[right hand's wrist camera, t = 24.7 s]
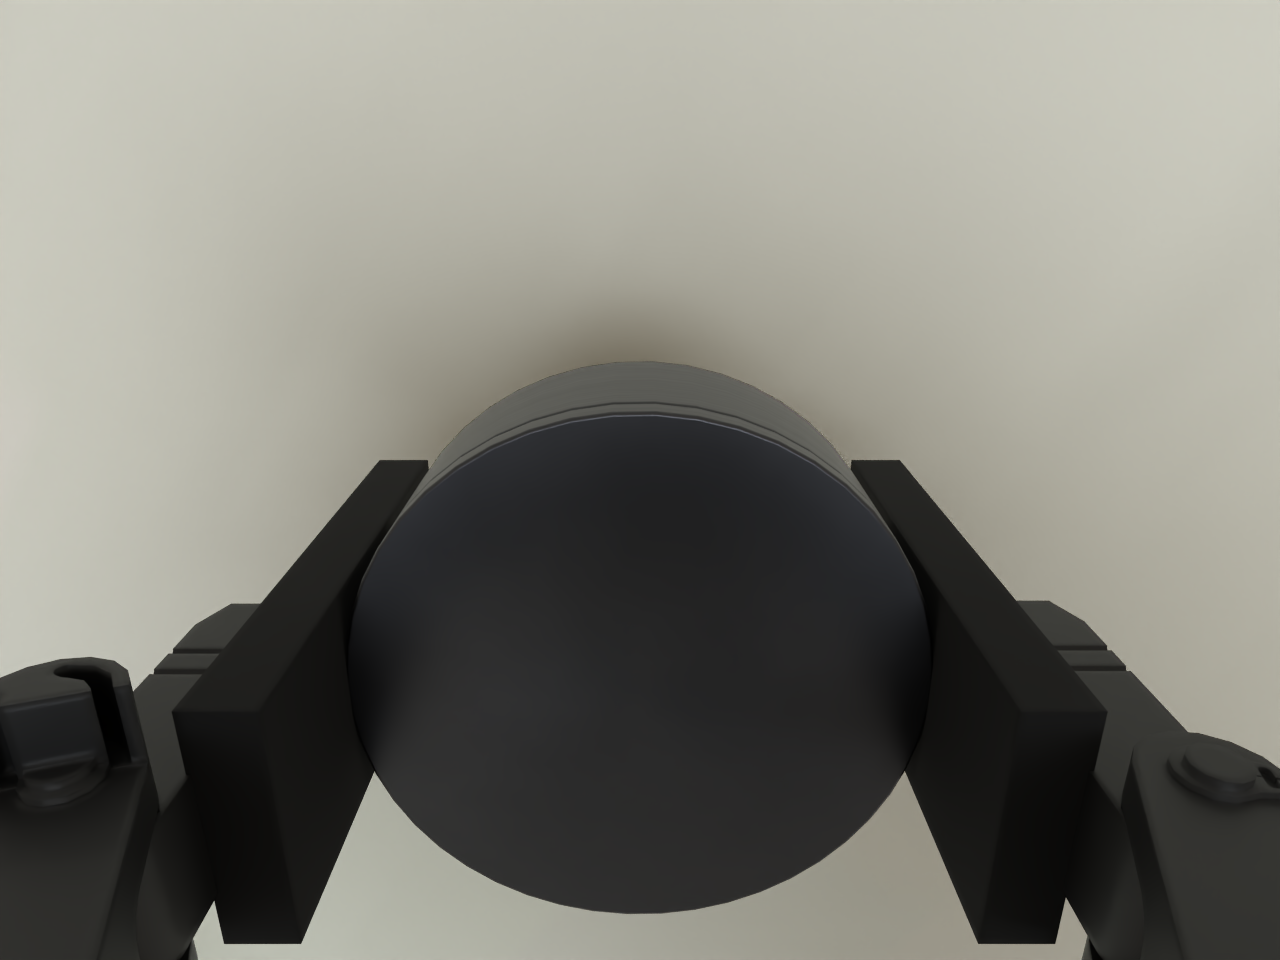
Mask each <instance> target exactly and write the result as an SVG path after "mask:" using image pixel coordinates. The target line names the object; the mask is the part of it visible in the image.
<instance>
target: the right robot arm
mask: <svg viewBox="0 0 1280 960" xmlns="http://www.w3.org/2000/svg"><path fill="white" fill-rule="evenodd" d="M428 471H429V468H428V460H380V461H379V462H378V463H377V464H376V465H375V467H374V468H373V469H372V470H371V471H370V473H369V474H368V475H367V476H366V477H365V479H364V480H363V481H362V482H361V483H360V485H359V486H358V487H357V488H356V490H355V491H354V492H353V493H352V494H351V496H350V497H349V498H348V499H347V500H346V502H345V503H344V504H343V505H342V506H341V508H340V509H339V510H338V511H337V512H336V514H335V515H334V516H333V517H332V518H331V520H330V521H329V522H328V523H327V524H326V526H325V527H324V528H323V529H322V531H321V532H320V533H319V534H318V535H317V537H316V538H315V539H314V540H313V541H312V543H311V544H310V545H309V546H308V547H307V549H306V550H305V551H304V552H303V553H302V555H301V556H300V557H299V558H298V559H297V561H296V562H295V563H294V564H293V566H292V567H291V568H290V569H289V570H288V572H287V573H286V574H285V575H284V576H283V578H282V579H281V580H280V581H279V582H278V584H277V585H276V586H275V587H274V588H273V590H272V591H271V592H270V593H269V594H268V596H267V597H266V598H265V599H264V600H263V602H262V603H261V604H230V605H228V606H227V607H225V608H223V609H221V610H220V611H218V612H216V613H215V614H213V615H211V616H209V617H208V618H206V619H204V620H203V621H201V622H199V623H197V624H196V625H195V626H194V627H193V628H192V629H191V630H190V631H189V632H188V633H187V634H186V635H185V637H184V638H183V639H182V640H181V641H180V642H179V643H178V644H177V645H176V646H175V647H174V648H173V654H168V655H167V656H166V657H165V658H164V659H163V660H162V661H161V662H160V663H159V665H158V666H157V667H156V668H155V669H154V674H149V675H148V676H147V677H146V679H145V680H144V681H143V682H142V683H141V684H140V685H139V686H138V687H137V688H136V689H135V690H134V691H133V690H132V686H131V682H130V677H129V673H128V670H127V669H125V668H124V667H122V666H121V665H120V664H118V663H117V662H115V661H112V660H106V659H100V658H94V657H84V658H71V659H60V660H55V661H51V662H47V663H43V664H39V665H34V666H30V667H26V668H24V669H21V670H19V671H16V672H14V673H11V674H9V675H6V676H4V677H1V678H0V960H198V957H197V953H196V949H195V944H194V940H193V937H194V935H195V934H196V932H197V930H198V928H199V926H200V925H201V923H202V921H203V919H204V918H205V916H206V914H207V912H208V911H209V909H210V907H211V905H212V903H213V902H214V901H215V905H216V910H217V914H218V919H219V923H220V927H221V932H222V936H223V941H224V944H301V943H302V940H303V938H304V936H305V933H306V931H307V929H308V926H309V924H310V922H311V919H312V917H313V915H314V912H315V910H316V908H317V905H318V903H319V900H320V898H321V896H322V893H323V891H324V889H325V886H326V884H327V882H328V879H329V877H330V875H331V872H332V870H333V867H334V865H335V863H336V860H337V858H338V856H339V853H340V851H341V849H342V846H343V844H344V842H345V839H346V837H347V834H348V832H349V830H350V827H351V825H352V823H353V820H354V818H355V816H356V813H357V811H358V809H359V806H360V804H361V802H362V799H363V797H364V794H365V792H366V790H367V787H368V785H369V783H370V780H371V778H372V776H373V773H374V769H373V767H372V765H371V762H370V760H369V758H368V756H367V754H366V752H365V750H364V748H363V746H362V744H361V740H360V737H359V734H358V731H357V728H356V725H355V722H354V717H353V711H352V704H351V697H350V690H349V683H348V675H347V663H346V645H347V638H348V632H349V625H350V618H351V612H352V609H353V606H354V603H355V600H356V597H357V593H358V590H359V587H360V584H361V581H362V578H363V576H364V574H365V572H366V570H367V568H368V566H369V564H370V562H371V560H372V558H373V556H374V554H375V552H376V550H377V548H378V547H379V545H380V544H381V542H382V540H383V539H384V537H385V536H386V534H387V533H388V531H389V530H390V528H391V527H392V525H393V524H394V522H395V521H396V519H397V518H398V516H399V515H400V513H401V511H402V510H403V508H404V507H405V505H406V504H407V502H408V501H409V499H410V498H411V496H412V495H413V493H414V492H415V490H416V489H417V487H418V485H419V484H420V482H421V481H422V479H423V478H424V476H425V475H426V473H427V472H428ZM851 471H852V472H853V474H854V475H855V477H856V478H857V480H858V482H859V483H860V485H861V486H862V488H863V489H864V491H865V492H866V494H867V495H868V497H869V498H870V500H871V501H872V503H873V504H874V506H875V507H876V509H877V511H878V512H879V514H880V515H881V517H882V518H883V520H884V521H885V523H886V524H887V526H888V528H889V529H890V530H891V532H892V533H893V535H894V536H895V538H896V540H897V541H898V543H899V545H900V547H901V549H902V550H903V552H904V554H905V556H906V558H907V560H908V561H909V563H910V565H911V567H912V569H913V571H914V573H915V576H916V578H917V581H918V584H919V587H920V589H921V592H922V595H923V598H924V601H925V603H926V608H927V613H928V618H929V623H930V629H931V634H932V644H933V670H932V678H931V685H930V693H929V700H928V707H927V713H926V719H925V722H924V726H923V729H922V733H921V737H920V739H919V741H918V743H917V746H916V748H915V750H914V753H913V755H912V757H911V759H910V762H909V764H908V766H907V768H906V769H905V772H906V775H907V777H908V779H909V782H910V784H911V786H912V789H913V791H914V793H915V796H916V798H917V800H918V803H919V805H920V808H921V810H922V812H923V815H924V817H925V819H926V822H927V824H928V826H929V829H930V831H931V833H932V836H933V838H934V840H935V843H936V845H937V848H938V850H939V852H940V855H941V857H942V859H943V862H944V864H945V866H946V869H947V871H948V873H949V876H950V878H951V881H952V883H953V885H954V888H955V890H956V892H957V895H958V897H959V899H960V902H961V904H962V906H963V909H964V911H965V914H966V916H967V918H968V921H969V923H970V925H971V928H972V930H973V932H974V935H975V937H976V939H977V942H978V944H1055V942H1056V938H1057V934H1058V929H1059V925H1060V920H1061V916H1062V912H1063V907H1064V903H1065V898H1067V900H1068V902H1069V903H1070V905H1071V907H1072V909H1073V910H1074V912H1075V914H1076V916H1077V918H1078V919H1079V921H1080V923H1081V925H1082V926H1083V928H1084V930H1085V932H1086V933H1087V935H1088V936H1087V940H1086V944H1085V949H1084V953H1083V957H1082V960H1280V769H1279V768H1278V767H1276V766H1275V765H1274V764H1272V763H1271V762H1269V761H1268V760H1267V759H1265V758H1264V757H1262V756H1260V755H1258V754H1256V753H1254V752H1251V751H1249V750H1247V749H1245V748H1243V747H1241V746H1238V745H1236V744H1234V743H1232V742H1229V741H1225V740H1222V739H1218V738H1214V737H1211V736H1207V735H1203V734H1200V733H1189V732H1187V731H1186V730H1185V729H1184V727H1183V726H1182V725H1181V724H1180V723H1179V722H1178V721H1177V720H1176V719H1175V718H1174V717H1173V716H1172V715H1171V714H1170V713H1169V711H1168V710H1167V709H1166V708H1165V707H1164V706H1163V705H1162V704H1161V703H1160V702H1159V701H1158V700H1157V699H1156V698H1155V696H1154V695H1153V694H1152V693H1151V692H1150V691H1149V690H1148V689H1147V688H1146V687H1145V686H1144V685H1143V684H1142V683H1141V682H1140V680H1139V679H1138V678H1137V677H1136V676H1135V675H1134V674H1133V673H1132V672H1131V671H1126V666H1125V664H1124V663H1123V662H1122V661H1121V660H1120V659H1119V658H1118V657H1117V656H1116V655H1115V654H1114V653H1113V652H1112V651H1107V645H1106V644H1105V643H1104V642H1103V641H1102V640H1101V639H1100V638H1099V637H1098V636H1097V635H1096V633H1095V632H1094V631H1093V630H1092V629H1091V628H1090V627H1089V626H1088V625H1087V624H1086V623H1085V622H1084V621H1083V620H1081V619H1079V618H1077V617H1076V616H1074V615H1072V614H1071V613H1069V612H1067V611H1065V610H1064V609H1062V608H1060V607H1058V606H1057V605H1055V604H1053V603H1052V602H1050V601H1016V600H1015V599H1014V598H1013V596H1012V595H1011V594H1010V593H1009V592H1008V590H1007V589H1006V588H1005V587H1004V586H1003V584H1002V583H1001V582H1000V581H999V579H998V578H997V577H996V576H995V575H994V573H993V572H992V571H991V570H990V569H989V567H988V566H987V565H986V564H985V563H984V561H983V560H982V559H981V558H980V557H979V555H978V554H977V553H976V552H975V551H974V549H973V548H972V547H971V546H970V544H969V543H968V542H967V541H966V540H965V538H964V537H963V536H962V535H961V534H960V532H959V531H958V530H957V529H956V528H955V526H954V525H953V524H952V523H951V522H950V520H949V519H948V518H947V517H946V516H945V514H944V513H943V512H942V511H941V509H940V508H939V507H938V506H937V505H936V503H935V502H934V501H933V500H932V499H931V497H930V496H929V495H928V494H927V493H926V491H925V490H924V489H923V488H922V487H921V485H920V484H919V483H918V482H917V481H916V479H915V478H914V477H913V476H912V474H911V473H910V472H909V471H908V470H907V468H906V467H905V466H904V465H903V464H902V462H901V461H900V460H852V462H851Z"/></svg>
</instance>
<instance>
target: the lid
mask: <svg viewBox="0 0 1280 960" xmlns="http://www.w3.org/2000/svg"><path fill="white" fill-rule="evenodd" d="M346 663H347V675H348V683H349V690H350V697H351V704H352V711H353V717H354V722H355V725H356V728H357V731H358V734H359V737H360V740H361V744H362V746H363V748H364V750H365V752H366V754H367V756H368V758H369V760H370V762H371V765H372V767H373V769H374V771H375V773H376V774H377V776H378V777H379V779H380V781H381V782H382V784H383V785H384V787H385V788H386V790H387V791H388V793H389V794H390V796H391V797H392V799H393V800H394V801H395V802H396V804H397V805H398V806H399V807H400V808H401V809H402V810H403V812H404V813H405V814H406V815H407V816H408V817H409V819H410V820H411V821H412V822H413V823H414V824H415V825H416V826H417V827H418V828H419V829H420V830H421V831H422V832H423V833H425V834H426V835H427V836H428V837H429V838H430V839H431V840H432V841H434V842H435V843H436V844H437V845H438V846H439V847H440V848H442V849H443V850H445V851H446V852H447V853H449V854H450V855H452V856H453V857H455V858H456V859H457V860H459V861H460V862H462V863H463V864H465V865H466V866H468V867H469V868H471V869H473V870H475V871H477V872H479V873H480V874H482V875H484V876H486V877H488V878H489V879H491V880H493V881H495V882H497V883H499V884H502V885H504V886H507V887H509V888H511V889H514V890H516V891H519V892H521V893H524V894H526V895H529V896H532V897H536V898H539V899H542V900H546V901H549V902H552V903H556V904H559V905H564V906H569V907H575V908H580V909H585V910H591V911H599V912H611V913H622V914H658V913H670V912H678V911H687V910H696V909H700V908H705V907H709V906H714V905H719V904H723V903H728V902H731V901H734V900H737V899H740V898H743V897H746V896H750V895H753V894H756V893H759V892H761V891H764V890H766V889H768V888H770V887H773V886H775V885H777V884H779V883H782V882H784V881H786V880H788V879H790V878H792V877H794V876H796V875H797V874H799V873H801V872H803V871H804V870H806V869H808V868H809V867H811V866H813V865H814V864H816V863H818V862H820V861H821V860H822V859H824V858H825V857H826V856H828V855H829V854H830V853H832V852H833V851H834V850H836V849H837V848H838V847H840V846H841V845H842V844H844V843H845V842H846V841H847V840H848V839H849V838H851V837H852V836H853V835H854V834H855V833H856V832H857V831H858V830H859V829H860V828H861V827H862V826H863V825H864V824H865V823H866V822H867V821H868V820H869V819H870V818H871V817H872V816H873V815H874V813H875V812H876V811H877V810H878V808H879V807H880V806H881V805H882V804H883V802H884V801H885V800H886V799H887V797H888V796H889V795H890V794H891V792H892V791H893V789H894V787H895V786H896V784H897V782H898V781H899V779H900V778H901V776H902V774H903V773H904V771H905V769H906V768H907V766H908V764H909V762H910V759H911V757H912V755H913V753H914V750H915V748H916V746H917V743H918V741H919V739H920V737H921V733H922V729H923V726H924V722H925V719H926V713H927V707H928V700H929V693H930V685H931V678H932V670H933V644H932V634H931V629H930V623H929V618H928V613H927V608H926V603H925V601H924V598H923V595H922V592H921V589H920V587H919V584H918V581H917V578H916V576H915V573H914V571H913V569H912V567H911V565H910V563H909V561H908V560H907V558H906V556H905V554H904V552H903V550H902V549H901V547H900V545H899V543H898V541H897V540H896V538H895V536H894V535H893V533H892V532H891V530H890V529H889V528H888V526H887V524H886V523H885V521H884V520H883V518H882V517H881V515H880V514H879V512H878V511H877V509H876V507H875V506H874V504H873V503H872V501H871V500H870V498H869V497H868V495H867V494H866V492H865V491H864V489H863V488H862V486H861V485H860V483H859V482H858V480H857V478H856V477H855V475H854V474H853V472H852V471H851V469H850V468H849V467H848V465H847V464H846V463H845V461H844V460H843V459H842V457H841V456H840V455H839V453H838V452H837V451H836V450H835V448H834V447H833V446H832V444H831V443H830V442H829V441H828V440H827V439H826V438H825V437H824V436H823V435H822V434H821V433H820V432H819V431H817V430H816V429H815V428H814V427H813V426H812V425H811V424H810V423H809V422H808V421H807V420H805V419H804V418H803V417H801V416H800V415H799V414H797V413H796V412H795V411H793V410H792V409H791V408H789V407H788V406H787V405H785V404H784V403H783V402H781V401H779V400H777V399H775V398H774V397H772V396H770V395H768V394H766V393H765V392H763V391H761V390H759V389H757V388H756V387H754V386H751V385H749V384H746V383H744V382H741V381H739V380H736V379H734V378H731V377H728V376H726V375H723V374H720V373H716V372H712V371H708V370H704V369H700V368H696V367H692V366H688V365H679V364H670V363H661V362H615V363H608V364H601V365H594V366H588V367H582V368H578V369H575V370H571V371H568V372H564V373H560V374H557V375H553V376H550V377H547V378H545V379H543V380H540V381H538V382H536V383H533V384H531V385H529V386H527V387H524V388H522V389H520V390H517V391H516V392H514V393H512V394H511V395H509V396H507V397H506V398H504V399H502V400H501V401H499V402H497V403H496V404H494V405H493V406H491V407H489V408H488V409H487V410H485V411H484V412H483V413H482V414H481V415H479V416H478V417H477V418H476V419H474V420H473V421H472V422H471V423H469V424H468V425H467V426H466V427H464V428H463V429H462V430H461V431H460V433H459V434H458V435H457V436H456V437H455V438H454V439H453V440H452V441H451V442H450V443H449V444H448V445H447V446H446V448H445V449H444V450H443V451H442V452H441V453H440V455H439V456H438V458H437V459H436V461H435V462H434V463H433V465H432V466H431V468H430V469H429V471H428V472H427V473H426V475H425V476H424V478H423V479H422V481H421V482H420V484H419V485H418V487H417V489H416V490H415V492H414V493H413V495H412V496H411V498H410V499H409V501H408V502H407V504H406V505H405V507H404V508H403V510H402V511H401V513H400V515H399V516H398V518H397V519H396V521H395V522H394V524H393V525H392V527H391V528H390V530H389V531H388V533H387V534H386V536H385V537H384V539H383V540H382V542H381V544H380V545H379V547H378V548H377V550H376V552H375V554H374V556H373V558H372V560H371V562H370V564H369V566H368V568H367V570H366V572H365V574H364V576H363V578H362V581H361V584H360V587H359V590H358V593H357V597H356V600H355V603H354V606H353V609H352V612H351V618H350V625H349V632H348V638H347V645H346Z"/></svg>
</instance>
